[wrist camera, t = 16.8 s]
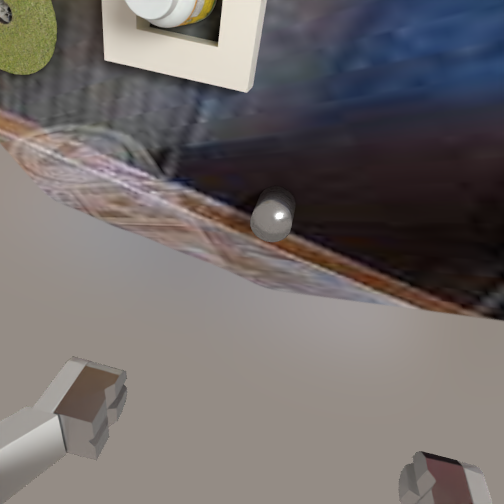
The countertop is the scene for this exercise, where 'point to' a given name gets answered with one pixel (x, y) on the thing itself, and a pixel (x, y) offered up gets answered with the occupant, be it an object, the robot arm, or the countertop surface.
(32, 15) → the green disc
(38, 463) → the robot arm
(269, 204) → the short stub
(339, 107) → the countertop surface
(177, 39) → the bore plate
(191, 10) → the supplement bottle
